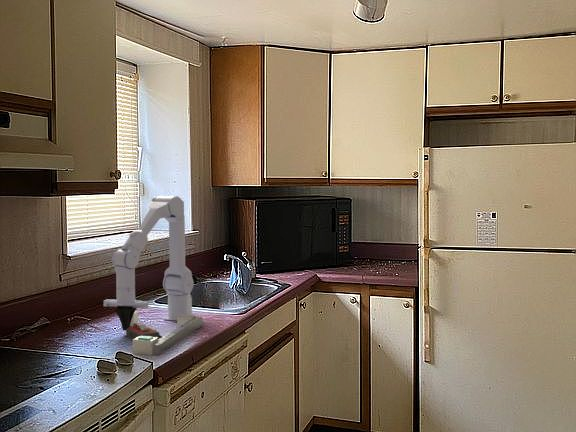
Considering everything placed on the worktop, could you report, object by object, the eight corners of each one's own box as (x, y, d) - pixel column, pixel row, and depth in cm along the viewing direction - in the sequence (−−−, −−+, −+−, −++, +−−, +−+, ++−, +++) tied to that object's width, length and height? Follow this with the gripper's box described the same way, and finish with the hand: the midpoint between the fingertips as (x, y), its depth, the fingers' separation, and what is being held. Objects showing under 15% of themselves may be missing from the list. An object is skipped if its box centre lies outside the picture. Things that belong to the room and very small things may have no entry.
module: (126, 322, 211) (126, 310, 211) (138, 322, 211) (138, 310, 210) (122, 325, 206) (122, 314, 206) (133, 326, 206) (133, 314, 206)
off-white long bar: (179, 324, 208) (179, 311, 208) (201, 325, 207) (201, 312, 206) (132, 353, 174) (132, 338, 174) (159, 355, 173) (158, 340, 172)
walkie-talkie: (168, 341, 188) (141, 327, 204) (168, 327, 188) (140, 314, 204) (142, 346, 183) (115, 332, 199) (141, 331, 183) (115, 318, 199)
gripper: (98, 288, 192) (99, 331, 193) (141, 290, 189) (141, 334, 190) (109, 284, 199) (110, 325, 200) (151, 286, 196) (151, 328, 196)
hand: (126, 329), depth 195 cm, fingers closed
